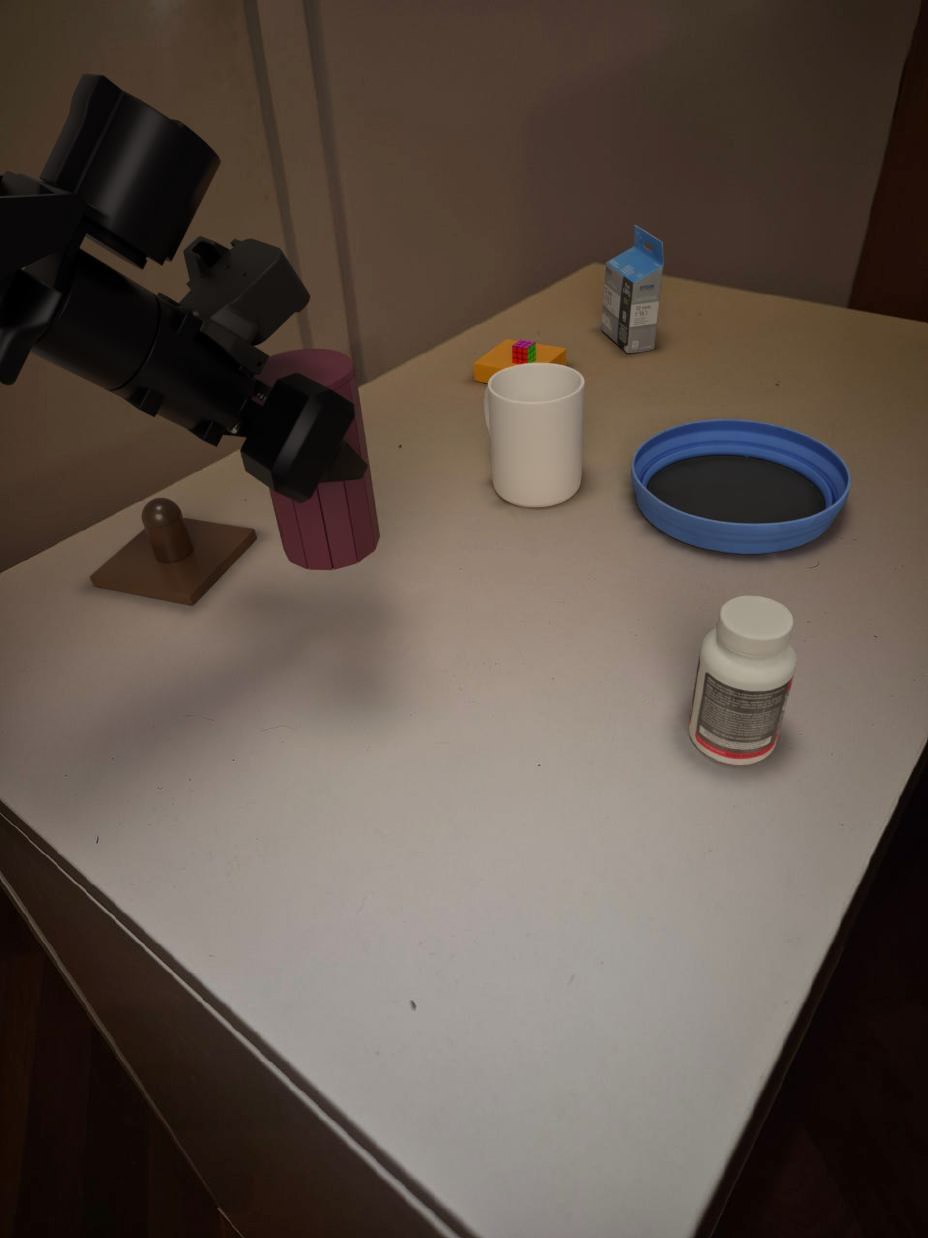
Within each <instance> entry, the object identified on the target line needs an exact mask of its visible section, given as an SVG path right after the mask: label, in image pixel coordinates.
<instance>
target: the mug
mask: <svg viewBox="0 0 928 1238" xmlns="http://www.w3.org/2000/svg"><path fill="white" fill-rule="evenodd" d="M585 384H586V383H585V378H584V376H583V375H582V374H581V372H579V371H578V370H576V369H574V368H573V367H570V366H567V365H566V366H563V365H559V364H552V363H527V364H520V365H515V366H511V367H508V368H505V369H503V370H501V371H499V372H497V373H495V374H494V375H493V376H492V377H491V378H490V379H489V382H488V383H487V387H486V389H485V391H484V394H483V401H482V409H483V418H484V422H485V423H484V424H485V426H486V429H487V432H488V434H489V441H490V442H489V444H490V461H491V464H490V465H491V466H490V467H491V479H492V485H493V488H494V491H495V492H496V493H497V495H498V496H499V497H500V498H502V499H503V501H505V502H508V503H509V504H513V505H515V506H519V507H523V508H532V509H533V508H536V509H537V508H547V507H552V506H556V505H559V504H562V503H564V502H566V501H568V500H570V499H571V498H572V497H574V495H575V494H576V493H577V492H578V490H579V489H580V487H581V482H582V475H583V455H584V454H583V451H584V449H583V448H584V420H585V419H584V417H585V415H584V413H585V412H584V411H585Z"/></svg>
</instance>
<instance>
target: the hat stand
mask: <svg viewBox="0 0 928 1238" xmlns="http://www.w3.org/2000/svg"><path fill="white" fill-rule="evenodd" d="M141 522H142V525H143V527H144V528H143V529H142V530H141V531H140V532H139V533H137V535H135V536H134V537H133V538H132V539H131V540H130V541H129V542H127V543H126V544H125V545H123V547H122V548H121V549H119V550H117V552H116V553H115V554H114V555H112V556H111V557H110V558H109V559H107V561H105V562H104V563H103V564H102V565H101V566H100V567H99V568H98V569H95V571H94V572H93V573H91V574H90V575H89V579H90V581H91V584H92V586H93V587H98V588H104V589H108V590H113V591H119V592H123V593H129V594H133V595H138V596H143V597H149V598H154V599H158V600H163V601H169V602H173V603H178V604H184V605H190V606H193V605H195V603H197V601H199V599H200V598H202V596H203V595H204V594H205V593H206V592H207V591H208V590H209V589H210V588H211V587H212V586H213V585H214V584H215V582H216V581H218V579H219V578H220V577H221V576H222V575H223V574H224V573H226V571H228V569H229V568H230V567H231V566H232V565H233V564H234V563H235V562H236V561H237V559H239V557H241V555H242V554H243V553H245V551H246V550H247V549H248V548H249V547H250V546H251V545H252V544H253V543H254V542H255V541H256V540H257V537H258V535H257V533H256V529H255V528H250V527H246V526H245V527H243V526H237V525H231V524H225V523H219V522H213V521H207V520H200V519H194V518H187V517H184V515H183V512H182V509H181V508H180V506H179V505H178V504H177V503H176V502H175V501H174V500H171V499H170V498H166V497H156V498H153V499H151V500H149V501H148V502H146V504H145V505H144V507H143V509H142V511H141Z"/></svg>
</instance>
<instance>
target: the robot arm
mask: <svg viewBox="0 0 928 1238" xmlns="http://www.w3.org/2000/svg"><path fill="white" fill-rule="evenodd" d="M51 149H52V150H51V152H50V154H49V156H48V158H47V160H46V162H45V164H44V166H43V169H42V170H41V173H40V175H39V177H38V179H37V178H34V177H32V176H30V175H27V174H24V173H15V172H12V171H10V170H6V171H5V172H4V173H0V384H1V385H3V386H8V387H9V386H12V385H14V384H15V383H16V382H17V380H18V378H19V376H20V373H21V372H22V369H23V367H24V365H25V363H26V362H27V359H28V357H29V355H30V354H32V355H34V356H36V357H38V358H40V359H43V360H44V361H47V362H49V363H50V364H53V365H55V366H57V367H59V368H61V369H63V370H65V371H67V372H69V373H71V374H74V375H75V376H78V377H80V378H82V380H83V379H84V380H86V381H88V382H90V383H92V384H94V385H96V386H98V387H99V388H102V389H104V390H106V391H107V392H110V393H112V394H114V395H116V396H118V397H120V398H121V399H123V400H124V401H126V402H127V403H129V404H130V405H131V406H133V407H134V408H135V409H137V410H139V411H140V412H142V413H145V414H147V415H149V416H151V417H153V418H156V417H157V416H158V417H161V418H163V419H166V420H168V421H169V422H171V423H174V424H175V425H178V426H179V427H182V428H184V429H185V430H187V431H188V432H190V433H191V434H193V435H194V436H195V437H197V438H198V439H199V440H201V441H203V442H205V443H207V444H209V445H211V446H213V447H215V448H218V446H219V444H220V443H221V440H222V438H223V436H229V437H238V438H245V439H244V441H243V443H242V445H241V447H240V449H239V452H240V456H241V460H242V464H243V468H244V471H245V472H246V473H247V474H249V475H250V476H252V477H253V478H254V479H256V480H257V481H259V482H261V483H262V484H263V485H265V486H266V487H267V488H268V489H269V488H270V489H272V490H273V491H275V492H276V493H278V494H281V495H283V496H285V497H287V498H289V499H291V500H294V501H296V502H298V503H300V504H301V503H303V502H305V501H307V500H309V499H311V497H312V496H313V494H314V492H315V490H316V488H317V486H318V484H319V483H326V482H337V481H348V480H359V479H361V478H362V477H363V475H364V474H365V472H366V470H367V468H368V464H367V463H366V462H365V461H364V460H363V458H362V457H361V456H360V455H359V454H358V453H357V452H356V451H355V450H354V449H353V448H352V447H351V446H350V445H349V443H348V442H347V441H346V440H345V439H344V436H345V434H346V432H347V430H348V429H349V427H350V425H351V423H352V421H353V419H354V417H355V406H354V403H352V402H351V401H349V400H347V399H346V398H344V397H343V396H341V395H340V394H338V393H336V392H335V391H333V390H332V389H330V388H328V387H326V386H324V385H322V384H320V383H318V382H316V381H314V380H312V379H310V378H308V377H306V376H304V375H302V374H300V373H298V372H296V373H293V374H290V375H287V376H284V377H282V378H279V379H277V380H276V382H275V384H274V386H271V385H269V384H267V383H265V382H264V381H262V380H260V379H258V378H256V377H254V375H255V374H256V375H259V374H260V373H261V371H262V369H263V367H264V365H265V363H266V362H267V360H268V358H269V356H270V355H269V354H267V353H266V352H264V351H263V350H261V349H260V348H258V347H256V346H259V345H261V344H263V343H264V342H266V341H267V340H268V339H269V338H270V337H271V336H272V335H273V334H274V333H275V332H276V331H277V330H279V329H280V328H281V327H282V326H283V325H284V324H285V323H286V322H287V321H288V320H289V319H290V318H291V317H292V316H293V315H294V314H296V313H300V312H302V311H303V310H304V309H305V308H306V307H307V306H308V305H309V302H310V301H311V294H310V292H309V291H308V289H307V288H306V285H304V283H303V281H302V280H301V278H300V277H299V275H298V274H297V272H296V270H295V269H294V267H293V266H292V264H291V262H290V261H289V259H288V258H287V256H286V254H284V252H283V250H282V249H281V248H280V247H279V246H275V245H273V244H270V243H267V242H264V241H261V240H258V239H255V238H246V239H243V240H240V239H237V238H233V239H232V240H231V241H230V245H231V249H230V248H229V247H227V246H224V245H222V244H221V243H219V242H217V241H215V240H212V239H209V238H207V237H205V236H202V235H199V236H198V237H196V238H195V239H194V240H192V242H191V243H189V245H187V246H186V247H185V248H184V249H183V250H182V254H183V257H184V258H183V259H184V263H185V267H186V271H187V275H188V279H189V280H188V281H187V282H186V284H185V285H186V286H187V287H188V289H189V291H188V292H187V293H185V296H184V297H183V298H182V299H181V300H179V302H178V301H176V300H174V299H172V298H171V297H169V296H168V295H166V294H164V293H162V292H160V291H158V293H157V294H156V293H154V292H152V291H150V290H149V289H148V288H146V287H144V285H141V284H140V283H138V282H136V281H135V280H133V279H131V278H130V277H128V276H126V275H125V274H123V273H121V272H120V271H118V270H116V269H115V268H113V267H112V266H110V265H109V264H107V263H105V262H104V261H102V260H101V259H99V258H97V257H96V256H94V255H92V254H90V253H89V252H88V251H86V250H84V249H82V248H81V246H82V244H83V242H84V239H85V238H86V239H88V240H90V241H91V242H93V243H94V244H96V245H97V246H100V247H101V248H102V249H104V250H106V251H107V252H109V253H110V254H113V255H114V256H116V257H117V258H119V259H121V260H123V261H124V262H126V263H128V264H129V265H131V266H134V267H136V268H137V269H138V270H142V271H144V270H145V267H146V265H147V263H148V260H147V259H149V260H151V261H152V262H153V263H156V264H158V265H160V266H161V267H162V266H164V263H165V261H166V262H169V263H172V262H173V260H174V258H175V256H176V254H177V252H178V250H179V248H180V246H181V244H182V242H183V240H184V238H185V236H186V234H187V232H188V230H189V228H190V226H191V223H192V222H193V220H194V218H195V216H196V214H197V212H198V210H199V207H200V206H201V204H202V202H203V200H204V198H205V195H206V194H207V192H208V190H209V188H210V186H211V184H212V181H213V180H214V178H215V176H216V174H217V172H218V170H219V168H220V165H221V163H222V160H221V158H220V156H219V154H218V153H217V152H216V151H215V150H214V149H213V148H212V146H210V145H209V144H208V143H207V141H205V140H204V139H203V138H202V137H201V136H199V134H197V133H196V131H194V130H193V129H191V128H190V127H189V126H188V125H187V124H185V123H183V122H182V121H181V120H178V119H174V118H169V116H167V115H166V114H164V113H162V112H161V111H160V110H157V109H156V108H154V107H153V106H152V105H150V104H148V103H147V102H145V101H144V100H142V99H140V98H139V97H136V96H134V95H133V94H130V93H129V92H127V91H124V90H123V89H121V87H119V86H118V85H116V83H114V82H113V81H111V80H110V79H109V78H108V77H107V76H105V75H104V74H99V73H98V74H97V73H90V72H87V73H82V74H81V76H80V79H79V80H78V83H77V85H76V87H75V88H74V92H73V94H72V96H71V100H70V106H69V111H68V115H67V118H66V120H65V122H64V124H63V126H62V129H61V130H60V133H59V135H58V137H57V139H56V141H55V143H54V145H53V147H52V148H51ZM253 396H255V397H256V398H258V399H260V400H262V401H263V402H265V403H264V405H263V406H262V405H260V404H258V403H256V402H255V401H253V400H251V399H252V397H253ZM253 422H254V424H253Z"/></svg>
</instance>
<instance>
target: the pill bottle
mask: <svg viewBox="0 0 928 1238" xmlns="http://www.w3.org/2000/svg"><path fill="white" fill-rule="evenodd" d="M793 630H794V617H793V615H792V613H791V612H790V610H789V609H788V608H787V607H786V606H785V605H784V604H782V603H781V602H778V601H777V600H774V599H772V598H769V597H767V596H760V595H751V594H750V595H740V596H735V597H734V598H732V599H731V598H730V599H728V600H727V601H726V602H725V603H724V604H723V605H722V606H721V608H720V609H719V612H718V618H717V622H716V625H715V627H713V629H711V630H710V631H709V632H708V633H707V634H706V635H705V637H704V638H703V639H702V641H701V644H700V648H699V653H698V660H697V666H696V672H695V679H694V686H693V692H692V698H691V706H690V711H689V712H690V713H689V721H688V732H689V737H690V738H691V740H692V742H693V744H694V745H695V747H697V748H698V750H699V751H701V752H702V753H703V754H704V755H706V756H707V757H709V758H711V759H713V760H715V761H717V762H719V763H722V764H723V763H724V764H727V765H733V766H747V765H752V764H756V763H758V762H760V761H762V760H765V759H766V758H768V756H770V755H771V754H772V752H773V751H774V749H775V747H776V744H777V741H778V737H779V734H780V730H781V727H782V722H783V719H784V715H785V712H786V708H787V707H786V706H787V703H788V699H789V696H790V691H791V689H792V684H793V681H794V677H795V672H796V669H797V662H798V661H797V653H796V650H795V648H794V646H793V645H792V643H791V640H792V633H793Z"/></svg>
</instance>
